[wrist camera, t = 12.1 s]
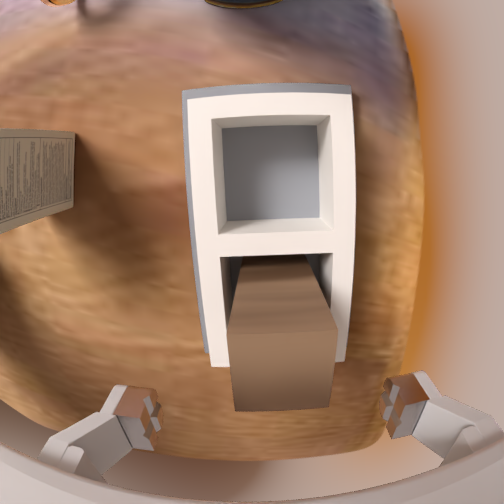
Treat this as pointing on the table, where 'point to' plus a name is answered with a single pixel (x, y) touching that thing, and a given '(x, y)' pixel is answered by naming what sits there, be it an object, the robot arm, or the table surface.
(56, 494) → the robot arm
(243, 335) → the walnut peg
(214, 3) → the apothecary jar
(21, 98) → the table surface
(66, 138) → the skincare box
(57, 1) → the ring
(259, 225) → the slot rack
